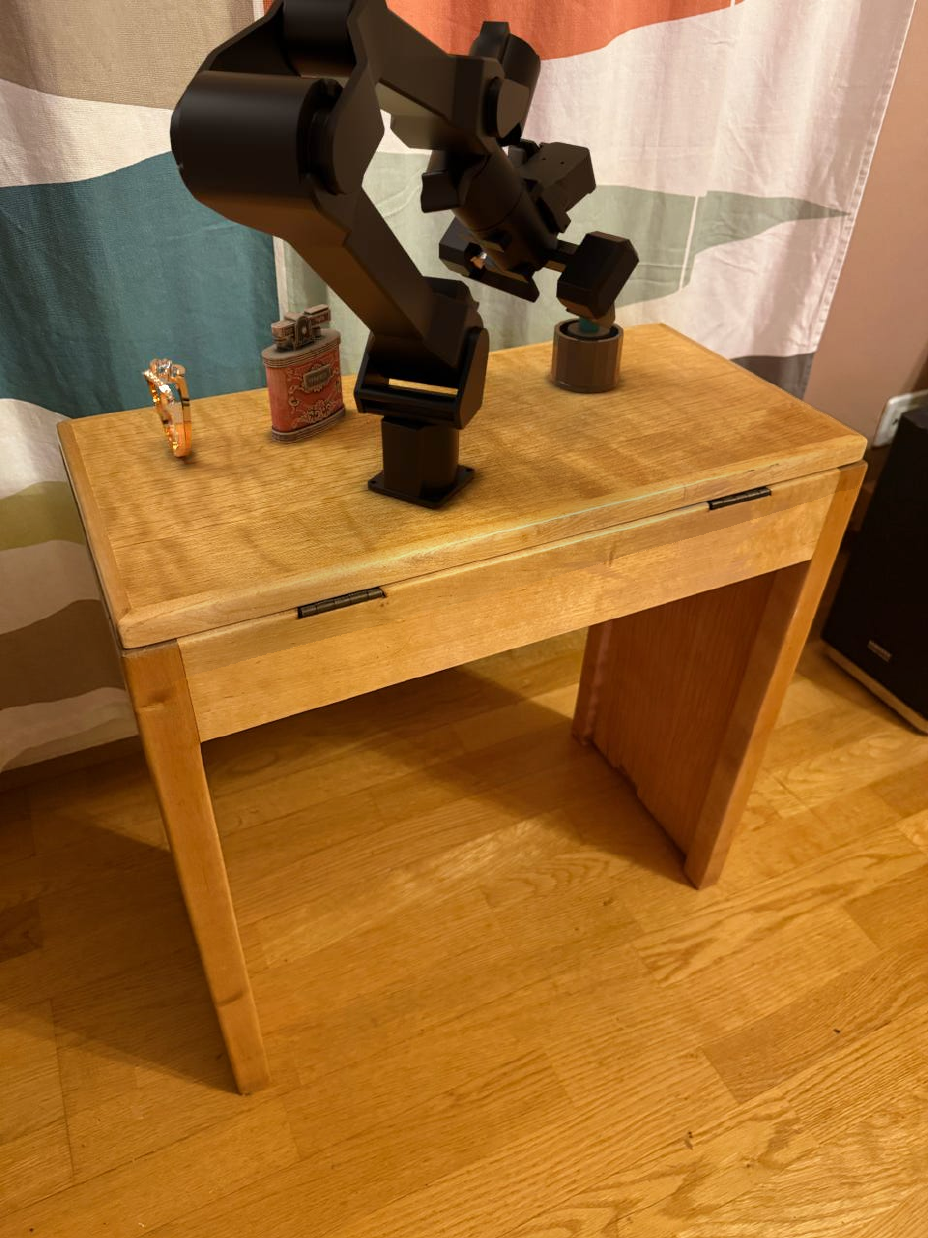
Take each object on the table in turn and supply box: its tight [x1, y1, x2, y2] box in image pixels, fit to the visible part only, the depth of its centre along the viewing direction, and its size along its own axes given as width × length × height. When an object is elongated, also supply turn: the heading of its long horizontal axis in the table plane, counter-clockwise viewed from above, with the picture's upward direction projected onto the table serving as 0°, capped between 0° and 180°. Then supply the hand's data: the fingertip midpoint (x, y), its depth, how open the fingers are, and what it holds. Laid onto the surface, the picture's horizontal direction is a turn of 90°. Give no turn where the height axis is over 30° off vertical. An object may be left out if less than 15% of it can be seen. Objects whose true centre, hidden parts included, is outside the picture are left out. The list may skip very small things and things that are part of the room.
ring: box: [141, 358, 192, 458], centre depth 74 cm, size 7×3×8 cm, turn 27°
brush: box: [567, 317, 610, 341], centre depth 86 cm, size 4×4×12 cm
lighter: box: [260, 303, 347, 444], centre depth 78 cm, size 8×3×10 cm, turn 143°
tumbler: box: [550, 317, 625, 394], centre depth 88 cm, size 7×7×5 cm
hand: (572, 310), depth 84 cm, fingers open, 9 cm apart
